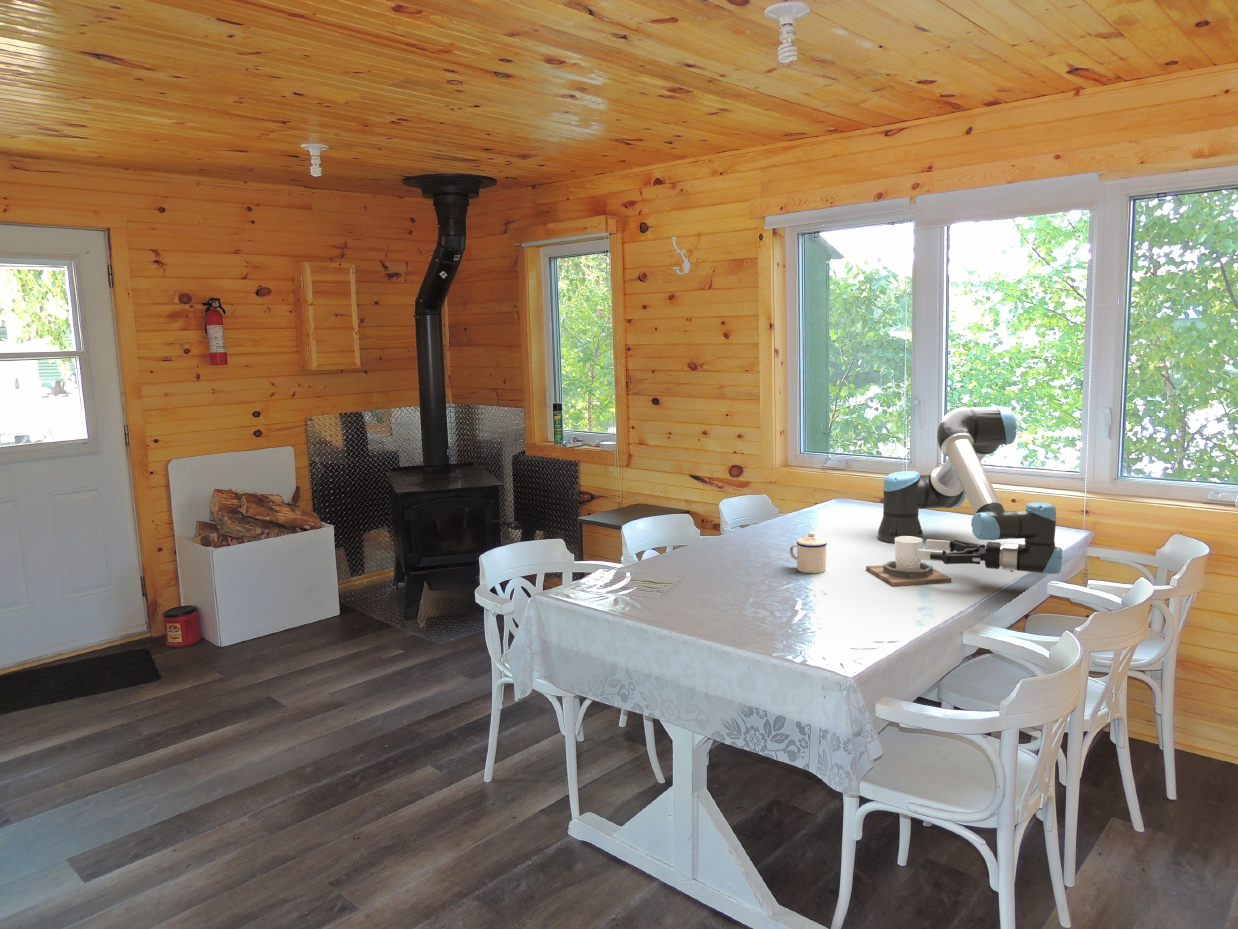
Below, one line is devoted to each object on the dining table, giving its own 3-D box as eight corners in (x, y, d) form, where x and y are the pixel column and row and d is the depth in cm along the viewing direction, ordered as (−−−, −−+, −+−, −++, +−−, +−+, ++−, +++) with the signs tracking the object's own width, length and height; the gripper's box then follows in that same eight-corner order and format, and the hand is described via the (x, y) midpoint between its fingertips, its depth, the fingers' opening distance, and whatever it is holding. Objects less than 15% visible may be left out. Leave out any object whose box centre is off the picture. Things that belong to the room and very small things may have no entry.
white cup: (889, 569, 268) (890, 536, 267) (915, 567, 269) (916, 535, 267) (900, 576, 260) (900, 542, 259) (926, 575, 261) (927, 541, 259)
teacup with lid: (831, 569, 274) (832, 532, 273) (817, 575, 267) (817, 537, 266) (797, 563, 282) (797, 527, 280) (782, 569, 275) (782, 532, 273)
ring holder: (866, 570, 272) (866, 560, 272) (921, 566, 275) (921, 556, 274) (892, 586, 255) (892, 576, 254) (951, 582, 257) (951, 572, 257)
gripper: (996, 580, 241) (914, 571, 251) (1004, 558, 263) (929, 551, 273) (997, 553, 240) (915, 545, 250) (1005, 533, 262) (929, 527, 271)
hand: (922, 549), depth 261 cm, fingers open, 13 cm apart
